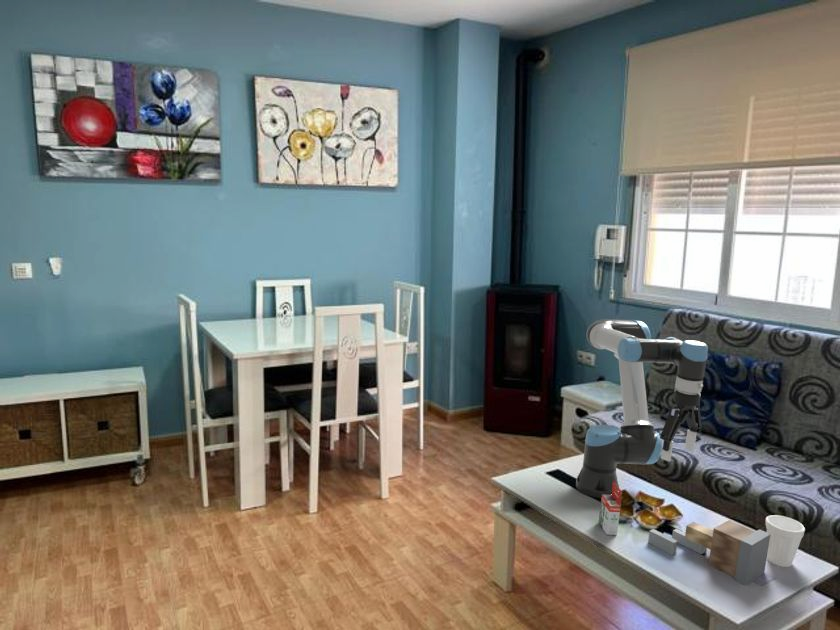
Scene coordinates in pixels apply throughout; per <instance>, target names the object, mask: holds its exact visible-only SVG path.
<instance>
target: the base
mask: <svg viewBox="0 0 840 630" xmlns="http://www.w3.org/2000/svg"><path fill="white" fill-rule="evenodd" d="M685 533H686V532H684V531H683V530H682V531H681V530H680V529H678V528H675V529H673V530H672V534H671V535H672V536H671V538H673V539H675V540H677V541H678V543H677V544H679V545H682V546H683V547H686V548H688V549H690V550H691V551H694V552H696V553H698V554H700V555H703V554H704V553H706V549H707V548H706V547H704V546H701V545H699V544H697V543H695V542H693V541H690V540H688V539H686V538H685ZM770 535H771V534H769V533H767V531H764V530H762V529H757V530H756V532H754V533H752V534H751V535H749V536H747V537H745V538H744V539H742V540H741V542H740V548H739V555H738V561H737V567H736V574H735V578H734V581H735V582H738V583H740V584H742V585H744V586H747V585H748V584H750V583H752V582H753V581H754V580H756V579H757V578H758V577H760V576H762V575H764V574H765V571H766V563H767V553H768V547H769V541H770Z"/></svg>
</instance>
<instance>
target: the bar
mask: <svg viewBox="0 0 840 630" xmlns="http://www.w3.org/2000/svg"><path fill="white" fill-rule="evenodd" d="M685 526H686V527H685V532H684V533H685V538H686V539H688V540H690V541H693V542H695V543H697V544H699V545H701V546H704V547H706V548H705V549H708V550H711V543H712V536H713V530H714V529H713V530H712V529H711V528H708V527H705V526H703V525H701V524H699V523H696V522H694V521H693V522H690V523H688V524H687V525H685Z"/></svg>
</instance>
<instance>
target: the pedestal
mask: <svg viewBox="0 0 840 630" xmlns="http://www.w3.org/2000/svg"><path fill="white" fill-rule="evenodd" d="M648 533H649V534H648V540H647V541H648V542H647V543H649V544H650V545H652V546H654V547H656V548H658V549H660V550H662V551H664V552H666V553H668V554H670V555H671V556H674V555H675V554H676V553H677V551H678V549H677V548H678V544H679V543H678V541H677V540H675V539H673V538H672V536H668V535H666V534H664V533H663V532H660V531H659V530H656V529H654V528H652V529H651V530H650V529H649V532H648Z"/></svg>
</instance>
